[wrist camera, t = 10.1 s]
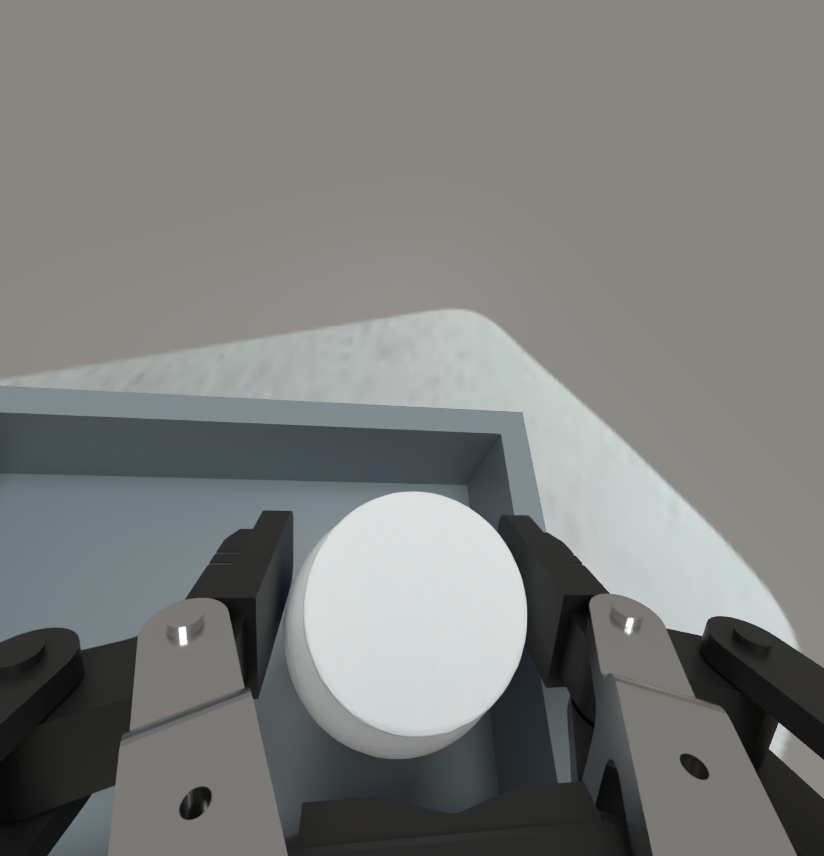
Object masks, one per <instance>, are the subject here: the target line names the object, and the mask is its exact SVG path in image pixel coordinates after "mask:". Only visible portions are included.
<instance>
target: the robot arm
mask: <svg viewBox="0 0 824 856" xmlns="http://www.w3.org/2000/svg"><path fill="white" fill-rule="evenodd" d="M497 533H498V534H499V535H500V536H501V538H502V539H503V541H504V542H505V544H506V545H507V547H508V548H509V550H510V552H511V554H512V556H513V558H514V560H515V562H516V564H517V567H518V569H519V572H520V574H521V577H522V580H523V586H524V590H525V595H526V602H527V632H526V639H525V644H524V645H525V647H526V649H527V651H528V653H529V655H530V657H531V659H532V661H533V663H534V665H535V667H536V669H537V671H538V673H539V675H540V677H541V679H542V681H543V683H544V685H545V687H546V688H557V687H566V688H567V690H568V691H569V693H570V696H569V701H568V705H567V722H568V738H569V753H570V769H571V782H567V783H554V784H540V785H527V786H519V787H516V788H514V789H512V790H509V791H507V792H505V793H503V794H500V795H498V796H496V797H493V798H491V799H489V800H487V801H484V802H482V803H480V804H477V805H475V806H473V807H471V808H468V809H466V810H464V811H461V812H458V813H445V812H440V811H436V810H432V809H427V808H423V807H419V806H414V805H410V804H406V803H401V802H397V801H393V800H388V799H384V798H380V797H368V798H355V799H341V800H328V801H315V802H303V803H302V811H301V818H300V826H299V833H297V834H295V835H293V836H290V837H288V838H286V839H284V836H283V831H282V827H281V823H280V818H279V814H278V809H277V805H276V800H275V796H274V791H273V787H272V782H271V778H270V773H269V769H268V764H267V760H266V755H265V751H264V746H263V742H262V737H261V733H260V728H259V724H258V719H257V715H256V710H255V706H254V701H253V699H258V698H259V695H260V691H261V688H262V685H263V681H264V678H265V674H266V671H267V667H268V664H269V660H270V657H271V653H272V650H273V646H274V643H275V639H276V636H277V632H278V629H279V625H280V622H281V619H282V615H283V612H284V608H285V605H286V601H287V598H288V594H289V591H290V587H291V582H292V575H293V512H292V511H272V510H264V511H262V513H261V515H260V517H259V518H258V520H257V522H256V524H255V526H254V527H253V529H239V530H238V531H236V532H235V533H233V534H232V535H230V536H229V537H227V538H226V539H224V541H223V542H222V544H221V546H220V547H219V549H218V550H217V552H216V554H215V555H214V556H213V558H212V559H211V561H210V562H209V565H207V567H206V568H205V570H204V571H203V573H202V574H201V576H200V577H199V579H198V580H197V582H196V583H195V585H194V586H193V588H192V589H191V591H190V592H189V594H188V595H187V597H186V598H185V600H183V601H180V602H176V603H174V604H171V605H169V606H167V607H165V608H163V609H161V610H160V611H158V612H156V613H155V614H154V615H153V616H151V617H150V618H149V619H148V620H147V621H146V622H145V623H144V625H143V626H142V627H141V629H140V631H139V634H138V636H136V637H133V638H130V639H126V640H122V641H118V642H114V643H110V644H105V645H101V646H97V647H92V648H88V649H84V650H81V646H80V640H79V636H78V635H77V633H75V632H74V631H72V630H70V629H67V628H58V627H53V628H43V629H38V630H33V631H29V632H26V633H23V634H20V635H17V636H14V637H12V638H9V639H7V640H4V641H2V642H0V856H48V854H49V853H50V852H51V850H52V849H53V848H54V846H55V845H56V843H57V842H58V841H59V839H60V838H61V837H62V835H63V834H64V833H65V831H66V830H67V828H68V827H69V826H70V824H71V823H72V822H73V820H74V819H75V818H76V816H77V815H78V813H79V812H80V811H81V809H82V808H83V807H84V805H85V804H86V802H87V801H88V800H89V798H90V797H91V795H92V794H93V793H96V792H99V791H101V790H104V789H107V788H110V787H112V786H115V794H114V803H113V812H112V822H111V831H110V841H109V850H108V856H824V799H823V798H822V797H821V796H820V795H819V794H817V792H815V791H814V790H813V789H812V788H811V787H810V786H809V785H808V784H807V783H806V782H804V781H803V780H802V779H801V778H800V777H799V776H798V775H797V774H796V773H795V772H793V771H792V770H791V769H790V768H789V767H788V766H787V765H786V764H785V763H784V762H782V761H781V760H780V759H779V758H778V757H777V756H776V755H775V754H774V753H773V752H771V751H770V750H769V746H770V744H771V741H772V738H773V736H774V733H775V731H776V728H777V725H778V723H780V724H782V725H783V726H784V727H785V728H786V729H788V730H789V731H790V732H791V733H792V734H794V735H795V736H796V737H797V738H798V739H800V740H801V741H802V742H803V743H804V744H806V745H807V746H808V747H809V748H810V749H812V750H813V751H814V752H815V753H816V754H818V755H819V756H820V757H821V758H822V759H824V668H822V667H821V666H820V665H818V664H816V663H815V662H814V661H812V660H811V659H809V658H807V657H806V656H804V655H803V654H801V653H800V652H798V651H797V650H795V649H794V648H792V647H791V646H789V645H788V644H786V643H785V642H783V641H782V640H780V639H779V638H777V637H776V636H774V635H772V634H771V633H769V632H767V631H766V630H764V629H762V628H760V627H758V626H755V625H753V624H751V623H748V622H745V621H742V620H739V619H735V618H731V617H723V616H717V617H712V618H710V619H709V620H708V621H707V623H706V627H705V630H704V633H703V636H699V635H694V634H690V633H685V632H680V631H676V630H671V629H666V627H665V625H664V623H663V622H662V620H661V619H660V618H659V617H658V616H657V615H656V614H655V613H654V612H653V611H652V610H650V609H649V608H647V607H646V606H644V605H643V604H641V603H639V602H637V601H635V600H633V599H630V598H627V597H624V596H621V595H616V594H610V593H609V592H608V591H607V590H606V589H605V588H604V587H603V586H602V584H601V583H600V582H599V581H598V580H597V579H596V578H595V577H594V576H593V575H592V573H591V572H590V571H589V570H588V569H587V568H586V567H585V566H582V562H581V561H580V560H579V559H578V558H577V557H576V556H574V555H573V553H572V551H571V550H570V549H569V548H568V547H567V546H566V545H565V544H564V543H563V542H562V541H560V540H559V539H557V538H555V537H554V536H552V535H551V534H549V533H546V532H543V531H542V530H541V529H540V527H539V526H538V525H537V524H536V523H535V522H534V520H533V519H532V518H531V517H530V516H528V515H502V516H501V517H500V519H499V523H498V530H497Z"/></svg>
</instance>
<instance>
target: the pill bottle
mask: <svg viewBox="0 0 824 856" xmlns="http://www.w3.org/2000/svg"><path fill="white" fill-rule="evenodd" d="M283 631H284V649H285V657H286V662H287V667H288V670H289V674H290V677H291V680H292V683H293V685H294V688H295V690H296V692H297V694H298V696H299V698H300V700H301V702H302V703H303V705H304V706H305V708H306V710H307V711H308V713H309V714H310V715H311V717H312V718H313V719H314V720H315V721H316V723H317V724H318V725H319V726H320V727H321V728H322V729H323V730H325V731H326V732H327V733H328V734H329V735H330V736H332V737H333V738H334V739H335V740H337V741H339V742H340V743H342V744H344V745H345V746H347V747H349V748H351V749H354V750H356V751H359V752H362V753H364V754H367V755H370V756H374V757H378V758H385V759H410V758H415V757H420V756H424V755H428V754H430V753H433V752H436V751H438V750H440V749H442V748H444V747H446V746H448V745H450V744H451V743H453V742H454V741H456V740H457V739H459V738H460V737H462V736H463V735H464V734H466V733H467V732H468V731H469V730H470V729H471V728H472V727H473V726H474V725H475V724H476V723H477V722H478V721H479V719H480V718H481V717H482V716H483V714H484V713H485V712H486V711H487V710H489V709H490V707H491V706H492V705H493V704H494V703H495V702H496V701H497V700H498V698H499V697H500V696H501V695H502V694H503V693H504V691H505V689H506V688H507V686H508V684H509V683H510V681H511V679H512V677H513V675H514V673H515V671H516V669H517V668H518V665H519V662H520V659H521V656H522V652H523V648H524V644H525V639H526V632H527V602H526V595H525V590H524V586H523V580H522V577H521V574H520V572H519V569H518V567H517V564H516V562H515V560H514V558H513V556H512V554H511V552H510V550H509V548H508V547H507V545H506V544H505V542H504V541H503V539H502V538H501V536H500V535H499V534H498V533H497V531H496V530H495V529H494V528H493V527H492V526H491V525H490V524H489V523H488V522H487V521H486V520H485V519H483V518H482V517H481V516H480V515H479V514H477V513H476V512H475V511H473V510H472V509H470V508H469V507H467V506H465V505H463V504H461V503H460V502H458V501H455V500H453V499H450V498H448V497H445V496H442V495H438V494H434V493H427V492H418V491H414V492H398V493H392V494H388V495H385V496H382V497H379V498H376V499H373V500H371V501H369V502H367V503H365V504H363V505H361V506H360V507H358V508H356V509H355V510H353V511H352V512H351V513H349V514H348V515H347V516H345V517H344V518H343V519H342V520H341V521H340V522H339V523H338V524H337V525H336V526H335V527H334V528H332V529H331V530H330V531H329V532H327V533H326V534H325V535H324V536H323V537H322V538H321V539H320V540H319V541H318V542H317V543H316V545H315V546H314V547H313V548H312V550H311V551H310V552H309V554H308V555H307V557H306V558H305V560H304V561H303V563H302V565H301V567H300V568H299V570H298V572H297V574H296V577H295V579H294V581H293V584H292V587H291V590H290V593H289V597H288V600H287V605H286V610H285V617H284V630H283Z"/></svg>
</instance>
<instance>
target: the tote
mask: <svg viewBox="0 0 824 856" xmlns="http://www.w3.org/2000/svg"><path fill="white" fill-rule="evenodd" d="M414 491H418V492H427V493H434V494H438V495H442V496H445V497H448V498H450V499H453V500H455V501H458V502H460V503H461V504H463V505H465V506H467V507H469V508H470V509H472V510H473V511H475V512H476V513H477V514H479V515H480V516H481V517H482V518H483V519H485V520H486V521H487V522H488V523H489V524H490V525H491V526H492V527H493V528H494V529H495V530H496V531H497V530H498V523H499V519H500V517H501V516H502V515H528V516H530V517H531V518H532V519H533V520H534V522H535V523H536V524H537V525H538V526H539V527H540V529H541V530H542V531H543V532H546V528H545V523H544V518H543V513H542V508H541V503H540V498H539V493H538V488H537V483H536V478H535V473H534V468H533V463H532V458H531V453H530V448H529V443H528V438H527V433H526V428H525V423H524V418H523V413H522V412H506V411H486V410H466V409H446V408H426V407H407V406H387V405H367V404H347V403H327V402H307V401H288V400H268V399H248V398H228V397H208V396H188V395H169V394H149V393H129V392H109V391H89V390H69V389H50V388H30V387H10V386H0V642H2V641H4V640H7V639H9V638H12V637H14V636H17V635H20V634H23V633H26V632H29V631H33V630H38V629H43V628H53V627H58V628H67V629H70V630H72V631H74V632H75V633H77V635H78V636H79V640H80V646H81V650H84V649H88V648H92V647H97V646H101V645H105V644H110V643H114V642H118V641H122V640H126V639H130V638H133V637H136V636H138V634H139V631H140V629H141V627H142V626H143V625H144V623H145V622H146V621H147V620H148V619H149V618H150V617H151V616H153V615H154V614H155V613H156V612H158V611H160V610H161V609H163V608H165V607H167V606H169V605H171V604H174V603H176V602H180V601H183V600H185V598H186V597H187V595H188V594H189V592H190V591H191V589H192V588H193V586H194V585H195V583H196V582H197V580H198V579H199V577H200V576H201V574H202V573H203V571H204V570H205V568H206V567H207V565H209V562H210V561H211V559H212V558H213V556H214V555H215V554H216V552H217V550H218V549H219V547H220V546H221V544H222V542H223V541H224V539H226V538H227V537H229V536H230V535H232V534H233V533H235V532H236V531H238V530H239V529H253V527H254V526H255V524H256V522H257V520H258V518H259V517H260V515H261V513H262V511H264V510H272V511H292V512H293V575H292V582H291V587H292V584H293V581H294V579H295V577H296V574H297V572H298V570H299V568H300V567H301V565H302V563H303V561H304V560H305V558H306V557H307V555H308V554H309V552H310V551H311V550H312V548H313V547H314V546H315V545H316V543H317V542H318V541H319V540H320V539H321V538H322V537H323V536H324V535H325V534H326V533H327V532H329V531H330V530H331V529H332V528H334V527H335V526H336V525H337V524H338V523H339V522H340V521H341V520H342V519H343V518H344V517H345V516H347V515H348V514H349V513H351V512H352V511H353V510H355V509H356V508H358V507H360V506H361V505H363V504H365V503H367V502H369V501H371V500H373V499H376V498H379V497H382V496H385V495H388V494H392V493H398V492H414ZM291 587H290V590H291ZM289 593H290V591H289ZM288 597H289V594H288ZM287 600H288V598H287ZM286 605H287V601H286ZM286 605H285V608H284V612H283V615H282V619H281V622H280V625H279V629H278V632H277V636H276V639H275V643H274V646H273V650H272V653H271V657H270V660H269V664H268V667H267V671H266V674H265V678H264V681H263V685H262V688H261V691H260V695H259V698H258V699H253V701H254V706H255V710H256V715H257V719H258V724H259V728H260V733H261V737H262V742H263V746H264V751H265V755H266V760H267V764H268V769H269V773H270V778H271V782H272V787H273V791H274V796H275V800H276V805H277V809H278V814H279V818H280V823H281V827H282V831H283V836H284V839H286V838H288V837H290V836H293V835H295V834H297V833H299V826H300V818H301V811H302V803H303V802H315V801H328V800H341V799H355V798H368V797H380V798H384V799H388V800H393V801H397V802H401V803H406V804H410V805H414V806H419V807H423V808H427V809H432V810H436V811H440V812H445V813H458V812H461V811H464V810H466V809H468V808H471V807H473V806H475V805H477V804H480V803H482V802H484V801H487V800H489V799H491V798H493V797H496V796H498V795H500V794H503V793H505V792H507V791H509V790H512V789H514V788H516V787H519V786H527V785H540V784H554V783H567V782H571V769H570V753H569V738H568V722H567V705H568V701H569V696H570V693H569V691H568V690H567V688H566V687H557V688H546V687H545V685H544V683H543V681H542V679H541V677H540V675H539V673H538V671H537V669H536V667H535V665H534V663H533V661H532V659H531V657H530V655H529V653H528V651H527V649H526V647H525V645H524V648H523V652H522V656H521V659H520V662H519V665H518V668H517V669H516V671H515V673H514V675H513V677H512V679H511V681H510V683H509V684H508V686H507V688H506V689H505V691H504V693H503V694H502V695H501V696H500V697H499V698H498V700H497V701H496V702H495V703H494V704H493V705H492V706H491V707H490V709H489V710H487V711H486V712H485V713H484V714H483V716H482V717H481V718H480V719H479V721H478V722H477V723H476V724H475V725H474V726H473V727H472V728H471V729H470V730H469V731H468V732H467V733H466V734H464V735H463V736H462V737H460V738H459V739H457V740H456V741H454V742H453V743H451V744H450V745H448V746H446V747H444V748H442V749H440V750H438V751H436V752H433V753H430V754H428V755H424V756H420V757H415V758H410V759H385V758H378V757H374V756H370V755H367V754H364V753H362V752H359V751H356V750H354V749H351V748H349V747H347V746H345V745H344V744H342V743H340V742H339V741H337V740H335V739H334V738H333V737H332V736H330V735H329V734H328V733H327V732H326V731H325V730H323V729H322V728H321V727H320V726H319V725H318V724H317V723H316V721H315V720H314V719H313V718H312V717H311V715H310V714H309V713H308V711H307V710H306V708H305V706H304V705H303V703H302V702H301V700H300V698H299V696H298V694H297V692H296V690H295V688H294V685H293V683H292V680H291V677H290V674H289V670H288V667H287V662H286V657H285V649H284V631H283V630H284V617H285V610H286ZM114 794H115V786H112V787H110V788H107V789H104V790H101V791H99V792H96V793H93V794H92V795H91V797H90V798H89V800H88V801H87V802H86V804H85V805H84V807H83V808H82V809H81V811H80V812H79V813H78V815H77V816H76V818H75V819H74V820H73V822H72V823H71V824H70V826H69V827H68V828H67V830H66V831H65V833H64V834H63V835H62V837H61V838H60V839H59V841H58V842H57V843H56V845H55V846H54V848H53V849H52V850H51V852H50V853H49V854H48V856H108V850H109V841H110V831H111V822H112V812H113V803H114Z"/></svg>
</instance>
